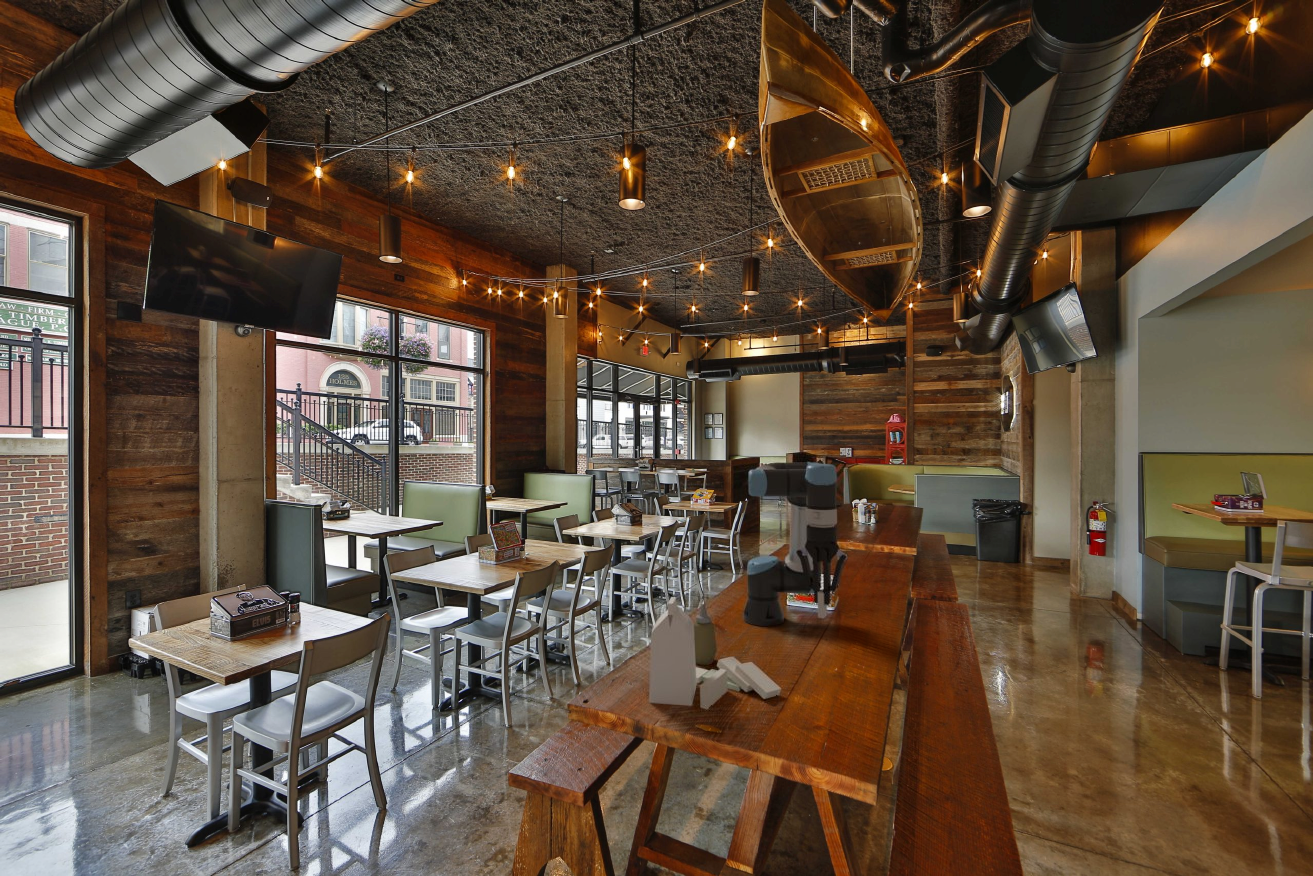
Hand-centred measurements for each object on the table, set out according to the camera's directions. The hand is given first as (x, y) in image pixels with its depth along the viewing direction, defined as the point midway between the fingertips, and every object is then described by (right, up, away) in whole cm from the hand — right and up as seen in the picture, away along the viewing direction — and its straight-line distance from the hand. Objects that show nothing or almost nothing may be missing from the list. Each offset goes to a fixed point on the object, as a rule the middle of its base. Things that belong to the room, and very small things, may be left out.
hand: (822, 616), depth 147 cm
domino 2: (-18, -24, +14) cm, 33 cm away
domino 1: (-29, -24, +20) cm, 42 cm away
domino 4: (-15, -23, +12) cm, 30 cm away
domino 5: (-11, -23, +7) cm, 27 cm away
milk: (-38, -25, +11) cm, 47 cm away
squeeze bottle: (-28, -24, +32) cm, 49 cm away
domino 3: (-24, -22, +13) cm, 35 cm away
